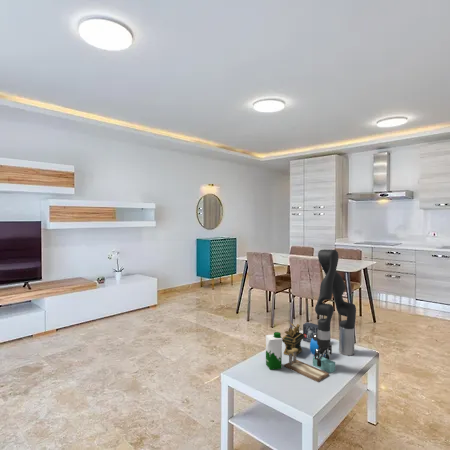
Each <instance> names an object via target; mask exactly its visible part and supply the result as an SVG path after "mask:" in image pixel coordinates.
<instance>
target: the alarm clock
mask: <svg viewBox="0 0 450 450" xmlns="http://www.w3.org/2000/svg"><path fill="white" fill-rule="evenodd" d="M318 348H319V346H318V344H317V333H316V334H313V336H312V339H311V342H309V351H310V353H311V354H312V355H313V356H315V349H318ZM320 355H321V354H320ZM325 356H326V355H324V356H323V357H324V358H325Z"/></svg>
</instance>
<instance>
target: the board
mask: <svg viewBox="0 0 450 450" xmlns="http://www.w3.org/2000/svg"><path fill="white" fill-rule="evenodd" d="M296 352H298V349H297V348H292V350H288V353H289V355H288V362H287V363H284V365H283V367H285V368H286V369H288V370H291V371H293V372H295V373H297V374H299V375H301V376H304V377H306V378H308V379H310V380H313V381H315V382H317V383H319V382H320V381H322V380H323V379H326V378H328V377H329V375H330V372H327V371H325V370H323V369H320V368H318V367H315V366H313V365H311V364H308V363H305V362H302V361H301V360H298V359H297V355H296ZM292 354H293V356H292Z"/></svg>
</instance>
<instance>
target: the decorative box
mask: <svg viewBox="0 0 450 450" xmlns="http://www.w3.org/2000/svg"><path fill="white" fill-rule="evenodd" d="M289 324H290V325H291V326H293V327H294V328H292V327H291V326H290V327H289V328H288V329H287V330H286V331H285V332H284V333H285V335H284V336H283V337H281V338H282V343H283V344H284V346H285V348H284V350H283V354H284V355H287V356H289V353H288V350H292V348H297V349H298V352H296V356H297V355H299V354H301V352H302V351H303V349H302V346H301V343H302V341H303V338H304V337H305V335H304V334H303V332H300V326H301V325H300V324H298V323H296V325H294V324H293V323H292V322H289ZM292 357H293V354H292Z"/></svg>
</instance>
